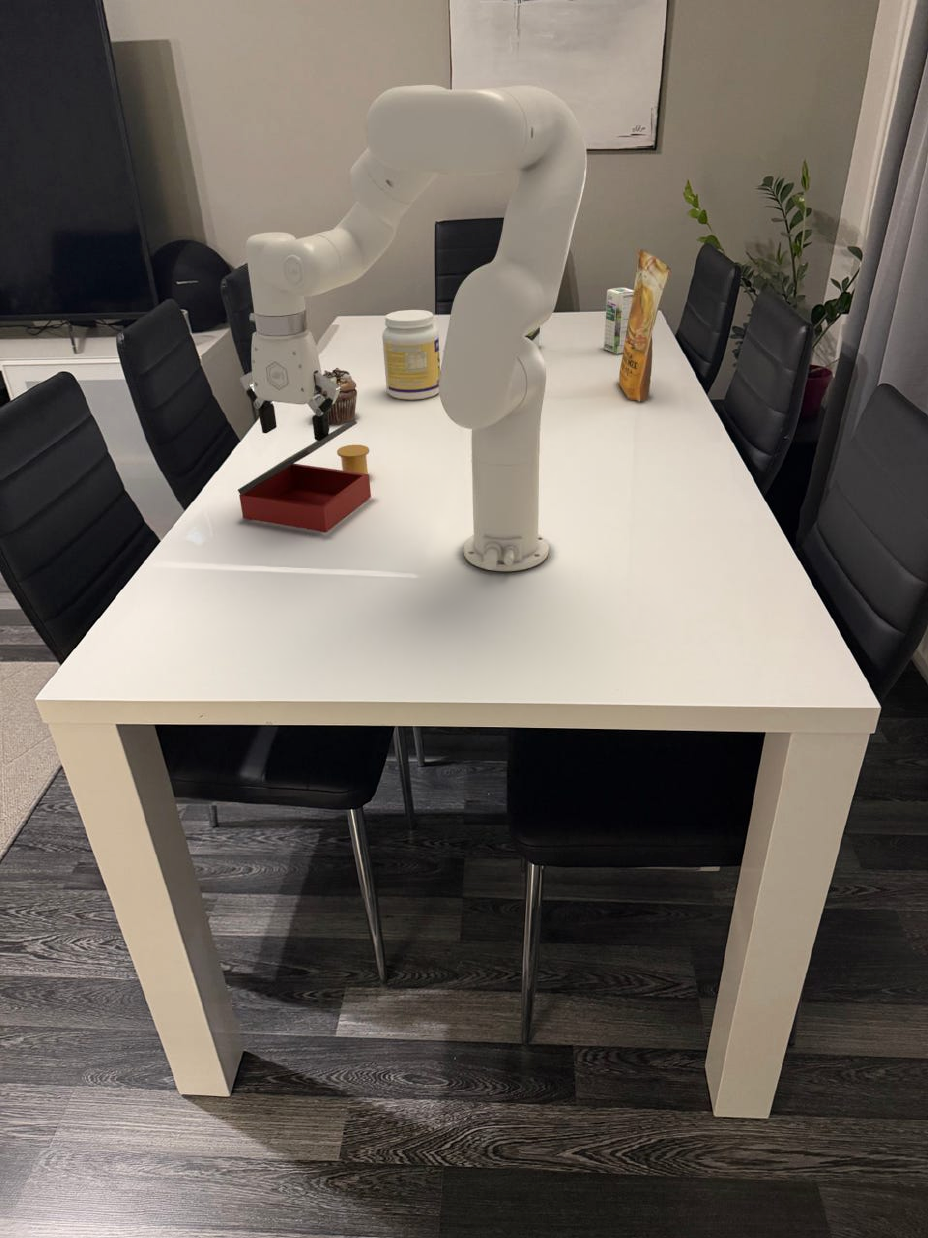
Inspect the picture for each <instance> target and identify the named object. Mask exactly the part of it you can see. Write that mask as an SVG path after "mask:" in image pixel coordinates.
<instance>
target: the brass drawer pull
mask: <svg viewBox="0 0 928 1238" xmlns="http://www.w3.org/2000/svg"><path fill="white" fill-rule="evenodd" d="M369 453H370V447H368V446H366V445H362V444H347V445H343V446H341V447H339V448H338V449H337V450H336V455H337V456H338V457H340V460H341V470H342V471H349V472H356V473H363V474H369V468H368V458H367V455H368V454H369Z"/></svg>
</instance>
